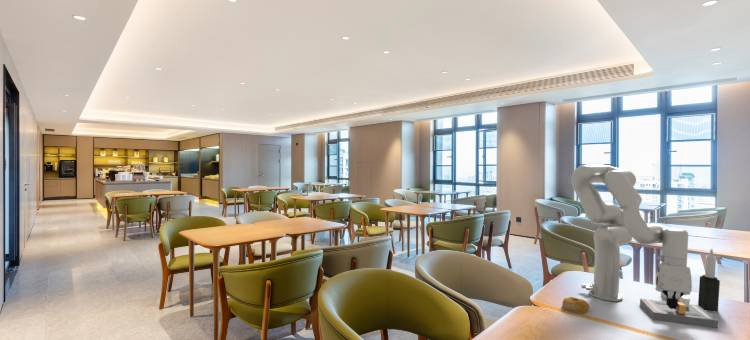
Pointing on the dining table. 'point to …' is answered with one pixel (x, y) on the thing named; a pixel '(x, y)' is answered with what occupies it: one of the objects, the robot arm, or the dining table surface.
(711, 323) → the breaker panel
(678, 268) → the robot arm
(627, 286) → the dining table surface
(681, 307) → the breaker handle
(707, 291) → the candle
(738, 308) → the dining table surface
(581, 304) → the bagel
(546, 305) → the dining table surface
